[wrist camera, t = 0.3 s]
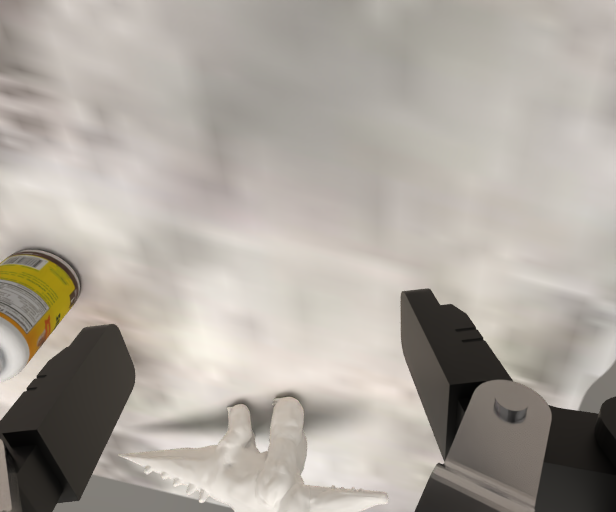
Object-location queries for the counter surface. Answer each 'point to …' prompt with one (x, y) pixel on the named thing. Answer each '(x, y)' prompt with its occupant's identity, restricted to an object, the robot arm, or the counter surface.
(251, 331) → the counter surface
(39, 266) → the supplement bottle
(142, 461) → the white dinosaur figurine
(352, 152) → the counter surface
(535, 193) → the counter surface
